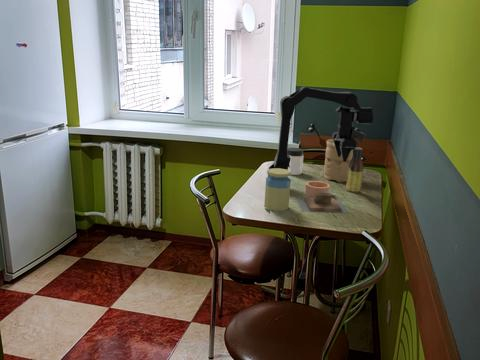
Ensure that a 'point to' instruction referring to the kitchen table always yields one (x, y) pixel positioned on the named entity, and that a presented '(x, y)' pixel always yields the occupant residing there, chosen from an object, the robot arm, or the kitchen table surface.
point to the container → (335, 164)
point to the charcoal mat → (305, 208)
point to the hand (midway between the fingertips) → (341, 159)
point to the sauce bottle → (355, 172)
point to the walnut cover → (322, 203)
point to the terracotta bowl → (316, 188)
